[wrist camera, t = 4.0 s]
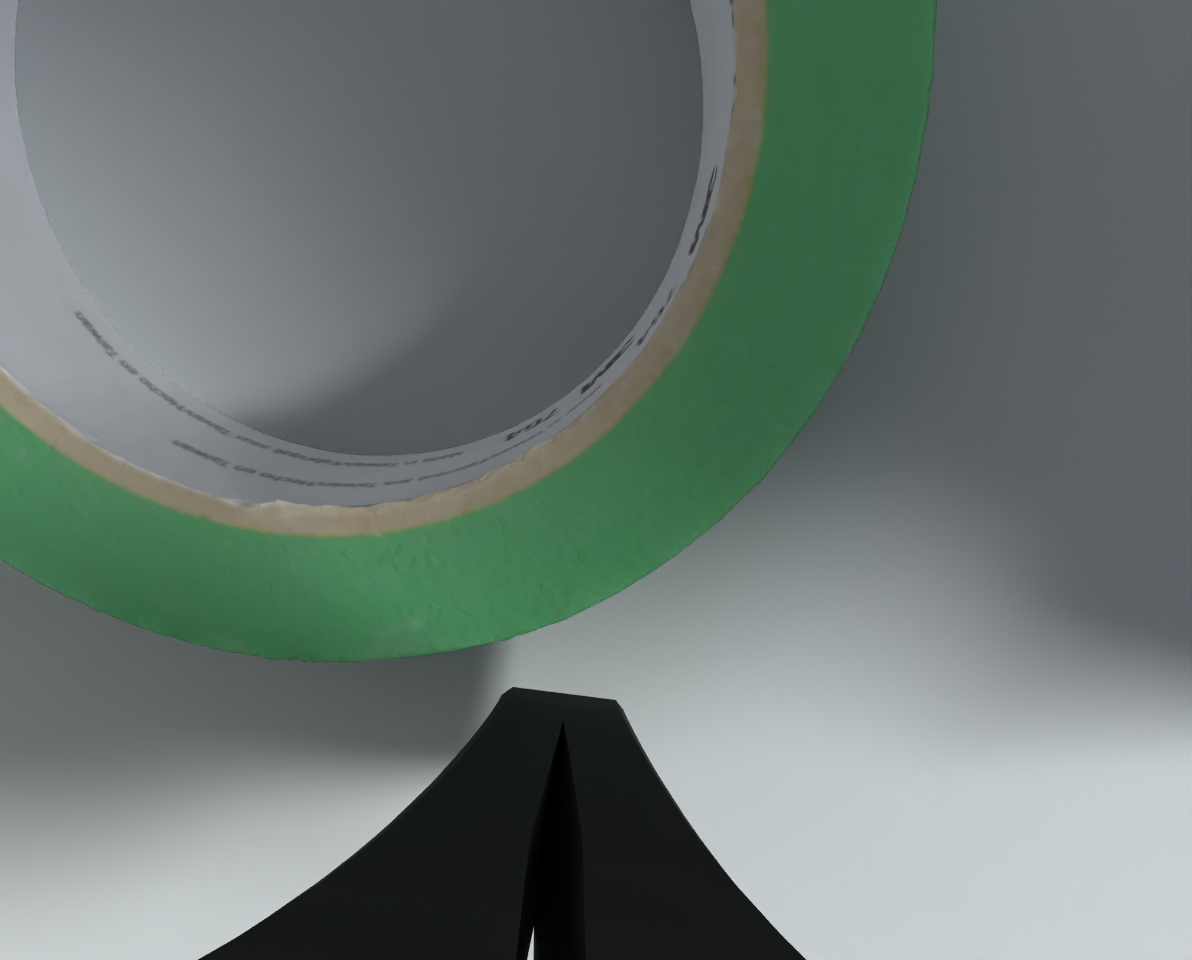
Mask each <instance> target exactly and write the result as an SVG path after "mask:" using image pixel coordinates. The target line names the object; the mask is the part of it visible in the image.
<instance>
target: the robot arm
mask: <svg viewBox="0 0 1192 960" xmlns="http://www.w3.org/2000/svg"><path fill="white" fill-rule="evenodd" d="M533 928H534V960H806V959H805V958H804V957H803V956H802V955H801V954H800V953H799V952H798V951H797V950H796V949H795V948H794V947H793V946H792V945H791V944H790V943H789V942H788V941H787V940H786V939H785V938H784V937H783V936H782V935H781V934H780V933H779V932H778V931H777V930H776V929H775V928H774V926H773V925H772V924H771V923H770V922H769V921H768V920H767V919H766V918H765V917H764V915H763V914H762V913H761V912H760V911H759V910H758V909H757V908H756V907H755V906H754V904H753V903H752V902H751V901H750V900H749V899H748V898H747V897H746V896H745V895H744V893H743V892H742V891H741V890H740V889H739V888H738V887H737V886H736V884H735V883H734V882H733V881H732V880H731V878H730V877H729V876H728V875H727V873H726V872H725V871H724V870H723V868H722V867H721V866H720V864H719V863H718V862H717V860H716V859H715V858H714V856H713V855H712V854H711V852H710V851H709V850H708V848H707V847H706V846H705V844H704V843H703V842H702V840H701V839H700V838H699V836H698V835H697V833H696V832H695V830H694V829H693V828H692V826H691V825H690V823H689V822H688V820H687V819H686V818H685V816H684V815H683V813H682V811H681V810H680V808H679V807H678V805H677V804H676V802H675V801H674V799H673V798H672V796H671V794H670V793H669V791H668V790H667V788H666V787H665V785H664V784H663V782H662V781H661V779H660V777H659V776H658V774H657V772H656V771H655V769H654V767H653V766H652V764H651V762H650V760H649V758H648V757H647V755H646V753H645V751H644V750H643V748H642V746H641V744H640V742H639V741H638V739H637V737H636V735H635V733H634V731H633V729H632V727H631V725H630V723H629V721H628V719H627V717H626V715H625V713H624V711H623V709H622V708H621V706H620V705H619V704H618V702H617V701H616V700H611V699H603V698H595V697H588V696H580V695H572V694H564V693H556V692H548V691H540V690H532V689H524V688H516V687H512V688H511V689H509V690H508V691H506V692H505V693H504V694H502V695H501V697H500V699H499V701H498V703H497V704H496V706H495V707H494V709H493V710H492V712H491V713H490V715H489V716H488V718H487V719H486V720H485V722H484V723H483V724H482V726H481V727H480V728H479V729H478V731H477V732H476V733H475V734H474V736H473V737H472V738H471V740H470V741H469V742H468V743H467V744H466V745H465V747H464V748H463V749H462V750H461V751H460V752H459V753H458V754H457V756H456V757H455V758H454V759H453V760H452V761H451V762H450V764H449V765H448V766H447V767H446V768H445V769H444V770H443V771H442V773H441V774H440V775H439V776H438V777H437V778H436V779H435V780H434V781H433V782H432V783H431V784H430V785H429V786H428V787H427V788H426V789H425V790H424V791H423V792H422V793H421V794H420V795H419V796H418V797H417V798H416V799H415V800H414V801H413V802H412V803H411V804H410V805H409V806H407V807H406V808H405V809H404V810H403V811H402V812H401V813H400V814H399V815H398V816H397V817H396V818H395V819H394V820H393V821H392V822H391V823H390V824H389V825H388V826H386V827H385V828H384V829H383V830H382V831H381V832H380V833H378V834H377V835H376V836H375V837H374V838H373V839H372V840H370V841H369V842H368V843H367V844H366V845H364V846H363V847H362V848H361V849H360V850H358V851H357V852H356V853H355V854H354V855H352V856H351V857H350V858H348V859H347V860H346V861H345V862H343V863H342V864H341V865H340V866H338V867H337V868H336V869H334V870H333V871H332V872H331V873H329V874H328V875H327V876H325V877H324V878H323V879H321V880H320V881H319V882H317V883H316V884H315V885H313V886H312V887H310V888H309V889H307V890H306V891H305V892H303V893H302V894H300V895H299V896H297V897H296V898H295V899H293V900H292V901H290V902H289V903H287V904H286V905H285V906H283V907H282V908H280V909H279V910H277V911H276V912H274V913H273V914H272V915H270V916H269V917H267V918H266V919H264V920H263V921H261V922H260V923H258V924H257V925H255V926H254V927H252V928H250V929H249V930H247V931H246V932H244V933H243V934H241V935H240V936H238V937H236V938H235V939H233V940H231V941H230V942H228V943H226V944H225V945H223V946H221V947H219V948H218V949H216V950H214V951H212V952H211V953H209V954H207V955H205V956H204V957H202V958H200V959H198V960H527V957H528V952H529V947H530V942H531V938H532V933H533Z"/></svg>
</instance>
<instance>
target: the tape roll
mask: <svg viewBox="0 0 1192 960" xmlns="http://www.w3.org/2000/svg"><path fill="white" fill-rule="evenodd" d="M689 1H690V5H691V9H692V13H693V17H694V21H695V25H696V31H697V36H698V43H699V50H700V59H701V70H702V81H703V132H702V146H701V157H700V163H699V170H698V176H697V181H696V186H695V190H694V194H693V198H692V201H691V205H690V209H689V213H688V216H687V220H686V223H685V226H684V230H683V233H682V236H681V239H680V242H679V245H678V248H677V250H676V252H675V255H674V257H673V259H672V262H671V264H670V267H669V269H668V271H667V273H666V276H665V277H664V279H663V281H662V283H661V285H660V287H659V289H658V290H657V292H656V294H655V296H654V298H653V299H652V301H651V303H650V304H649V306H648V307H647V309H646V311H645V312H644V313H643V315H642V316H641V318H640V319H639V321H638V322H637V324H636V325H635V327H634V328H633V329H632V331H631V332H630V333H629V334H628V336H627V337H626V338H625V339H624V341H623V342H622V343H621V344H620V345H619V347H618V348H617V349H616V350H615V351H614V352H613V353H612V354H611V355H610V356H609V357H608V358H607V359H606V360H605V361H604V362H603V364H602V365H601V366H600V367H599V368H598V369H597V370H596V371H595V372H593V373H592V374H591V375H590V376H589V377H588V378H587V379H586V380H585V381H583V382H582V383H581V384H580V385H578V386H577V387H576V388H575V389H574V390H572V391H571V392H570V393H569V394H567V395H566V396H565V397H563V398H562V399H560V400H559V401H557V402H556V403H554V404H553V405H551V406H549V407H548V408H546V409H545V410H543V411H542V412H540V413H538V414H537V415H535V416H533V417H531V418H530V419H528V420H526V421H524V422H522V423H520V424H519V425H517V426H515V427H513V428H511V429H508V430H505V431H502V432H500V433H497V434H494V435H492V436H489V437H486V438H484V439H481V440H478V441H474V442H471V443H467V444H464V445H461V446H457V447H452V448H448V449H443V450H438V451H433V452H425V453H417V454H405V455H386V456H370V455H353V454H345V453H337V452H330V451H325V450H320V449H316V448H311V447H307V446H303V445H299V444H295V443H291V442H288V441H285V440H282V439H279V438H276V437H273V436H270V435H267V434H265V433H262V432H259V431H257V430H254V429H252V428H250V427H248V426H245V425H243V424H241V423H239V422H237V421H235V420H233V419H231V418H229V417H227V416H225V415H223V414H222V413H220V412H218V411H216V410H215V409H213V408H211V407H210V406H208V405H206V404H205V403H203V402H201V401H200V400H198V399H197V398H195V397H193V396H192V395H190V394H189V393H187V392H186V391H184V390H183V389H182V388H180V387H179V386H178V385H176V384H175V383H174V382H172V381H171V380H170V379H169V378H167V377H166V376H165V375H163V374H162V373H161V372H160V371H158V370H157V369H156V368H155V367H154V366H153V365H152V364H151V363H149V362H148V361H147V360H146V359H145V358H144V357H143V356H142V355H141V354H140V353H139V352H138V351H137V350H136V349H135V348H134V347H133V346H131V345H130V344H129V342H128V341H127V340H126V339H125V338H124V337H123V336H122V335H121V334H120V333H119V332H118V330H117V329H116V328H115V327H114V326H113V325H112V323H111V322H110V321H109V320H108V319H107V318H106V316H105V315H104V314H103V313H102V312H101V311H100V309H99V308H98V306H97V305H96V303H95V302H94V300H93V299H92V297H91V296H90V294H89V293H88V291H87V290H86V288H85V287H84V285H83V284H82V282H81V281H80V279H79V278H78V276H77V275H76V273H75V271H74V270H73V268H72V266H71V264H70V263H69V261H68V259H67V257H66V256H65V254H64V252H63V250H62V248H61V246H60V244H59V242H58V240H57V238H56V236H55V234H54V232H53V229H52V227H51V225H50V223H49V220H48V218H47V215H46V213H45V210H44V207H43V205H42V202H41V200H40V197H39V194H38V192H37V189H36V186H35V183H34V180H33V177H32V173H31V170H30V167H29V164H28V160H27V155H26V151H25V146H24V141H23V137H22V132H21V127H20V123H19V117H18V108H17V97H16V85H15V64H14V54H15V30H16V17H17V9H18V2H19V0H0V559H1V560H2V561H4V562H6V563H7V564H9V565H10V566H12V567H14V568H15V569H17V570H19V571H20V572H22V573H24V574H26V575H27V576H29V577H31V578H32V579H34V580H36V581H38V582H39V583H41V584H43V585H45V586H47V587H49V588H52V589H54V590H56V591H58V592H60V593H62V594H63V595H65V596H67V597H69V598H72V599H75V600H78V601H80V602H82V603H84V604H86V605H87V606H89V607H91V608H93V609H94V610H96V611H99V612H102V613H105V614H108V615H111V616H113V617H116V618H118V619H121V620H123V621H126V622H129V623H132V624H134V625H137V626H139V627H142V628H145V629H147V630H150V631H153V632H156V633H159V634H162V635H167V636H171V637H174V638H177V639H180V640H183V641H187V642H192V643H196V644H201V645H204V646H208V647H211V648H215V649H220V650H225V651H231V652H237V653H244V654H250V655H256V656H261V657H265V658H269V659H286V660H297V659H298V660H301V661H303V662H307V661H312V662H350V661H368V660H380V659H395V658H402V657H411V656H419V655H427V654H435V653H443V652H451V651H456V650H460V649H465V648H469V647H474V646H480V645H486V644H490V643H493V642H498V641H503V640H507V639H510V638H512V637H514V636H518V635H522V634H526V633H528V632H531V631H534V630H536V629H539V628H542V627H544V626H547V625H550V624H553V623H556V622H559V621H562V620H565V619H567V618H569V617H571V616H573V615H575V614H577V613H579V612H581V611H583V610H585V609H587V608H589V607H591V606H593V605H595V604H597V603H599V602H601V601H603V600H605V599H607V598H609V597H611V596H613V595H614V594H616V593H618V592H620V591H622V590H623V589H625V588H627V587H628V586H630V585H632V584H633V583H635V582H636V581H638V580H640V579H641V578H643V577H645V576H646V575H648V574H649V573H651V572H652V571H654V570H655V569H657V568H658V567H660V566H661V565H663V564H664V563H665V562H667V561H668V560H670V559H671V558H673V557H674V556H676V555H677V554H678V553H679V552H680V551H682V550H683V549H684V548H685V547H687V546H688V545H689V544H691V543H692V542H693V541H695V540H696V539H697V538H699V537H700V536H701V535H702V534H704V533H705V532H706V531H707V530H709V529H710V528H711V527H712V526H714V525H715V524H716V523H717V522H718V521H720V520H721V519H722V518H723V517H724V516H725V515H726V514H727V513H728V512H729V511H730V510H731V509H732V508H733V507H734V506H735V505H736V504H737V503H738V502H739V501H740V500H741V499H742V498H743V497H744V496H745V495H746V494H747V493H748V492H749V491H750V490H751V489H752V488H753V487H754V486H755V485H757V484H758V483H759V482H760V481H761V480H762V479H763V478H764V476H765V475H766V474H767V473H768V471H769V470H770V469H771V468H772V466H773V465H774V464H775V463H776V462H777V460H778V459H779V458H780V457H781V456H782V454H783V453H784V452H785V451H786V450H787V448H788V447H789V446H790V444H791V443H792V441H793V440H794V439H795V437H796V436H797V435H798V434H799V432H800V431H801V430H802V429H803V427H804V426H805V425H806V423H807V422H808V420H809V419H810V417H811V416H812V414H813V412H814V411H815V409H816V408H817V406H818V405H819V403H820V402H821V400H822V399H823V398H824V397H825V395H826V394H827V392H828V390H829V388H830V386H831V385H832V383H833V382H834V380H835V378H836V377H837V375H838V374H839V372H840V370H841V369H842V367H843V365H844V363H845V362H846V360H847V358H848V356H849V354H850V353H851V351H852V349H853V347H854V345H855V343H856V342H857V340H858V338H859V336H860V334H861V332H862V329H863V327H864V325H865V323H866V321H867V318H868V316H869V314H870V312H871V310H872V307H873V305H874V303H875V301H876V299H877V296H878V294H879V292H880V290H881V287H882V284H883V282H884V279H885V276H886V274H887V271H888V268H889V265H890V262H891V259H892V256H893V254H894V251H895V248H896V245H897V242H898V239H899V236H900V233H901V230H902V227H903V223H904V220H905V217H906V214H907V209H908V204H909V200H910V197H911V193H912V190H913V186H914V183H915V178H916V174H917V169H918V164H919V159H920V153H921V147H922V141H923V135H924V130H925V125H926V120H927V116H928V111H929V98H928V97H929V91H930V86H931V82H932V77H933V54H934V31H935V21H936V7H937V0H689Z"/></svg>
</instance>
